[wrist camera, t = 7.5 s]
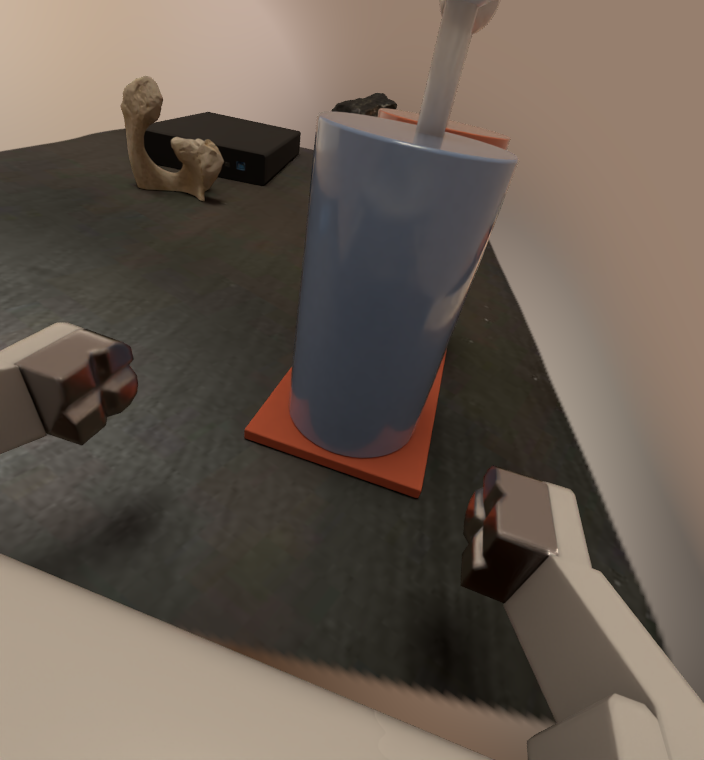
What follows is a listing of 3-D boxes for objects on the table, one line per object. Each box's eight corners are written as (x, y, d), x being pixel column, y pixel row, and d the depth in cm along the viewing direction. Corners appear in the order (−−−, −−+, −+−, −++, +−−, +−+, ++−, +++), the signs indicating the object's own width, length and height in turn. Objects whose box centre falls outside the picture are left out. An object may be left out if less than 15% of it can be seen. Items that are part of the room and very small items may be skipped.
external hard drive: (298, 153, 62) (300, 131, 60) (264, 186, 43) (265, 155, 42) (207, 134, 61) (206, 111, 59) (132, 159, 43) (127, 126, 41)
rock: (373, 179, 56) (389, 94, 50) (389, 193, 51) (410, 100, 45) (319, 171, 54) (329, 81, 48) (330, 186, 49) (343, 86, 43)
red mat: (417, 499, 14) (421, 491, 14) (243, 438, 15) (244, 429, 15) (448, 332, 24) (451, 325, 24) (344, 301, 25) (345, 294, 25)
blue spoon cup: (379, 484, 14) (633, -242, 5) (260, 412, 15) (287, -223, 7) (434, 405, 18) (629, -76, 9) (334, 355, 19) (413, -91, 11)
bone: (251, 175, 40) (218, 63, 30) (229, 224, 37) (186, 118, 28) (172, 162, 41) (116, 50, 31) (145, 209, 38) (77, 102, 29)
